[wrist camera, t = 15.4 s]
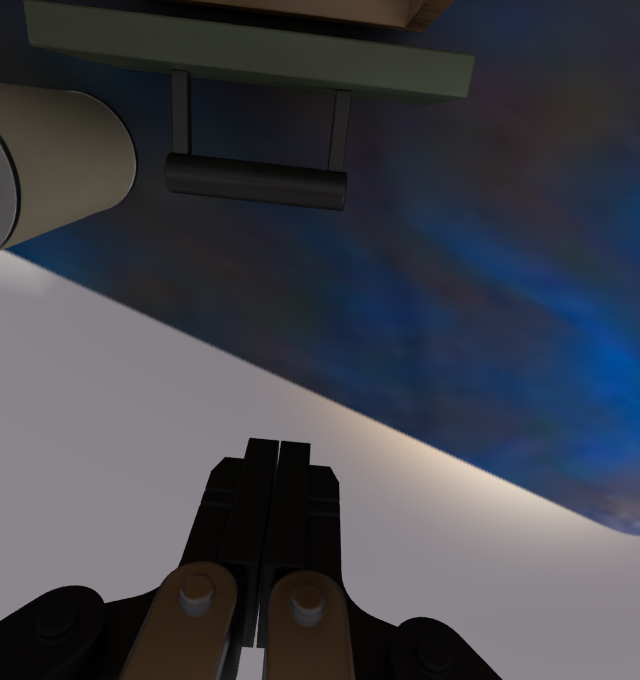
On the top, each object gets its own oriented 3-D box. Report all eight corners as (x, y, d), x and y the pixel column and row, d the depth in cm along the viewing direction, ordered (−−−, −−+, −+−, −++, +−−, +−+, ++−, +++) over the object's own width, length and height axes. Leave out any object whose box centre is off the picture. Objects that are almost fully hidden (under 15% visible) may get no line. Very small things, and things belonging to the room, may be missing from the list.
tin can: (32, 205, 24) (-146, 256, 15) (14, 84, 22) (-211, 56, 13) (141, 217, 24) (29, 274, 15) (134, 97, 22) (-2, 80, 13)
